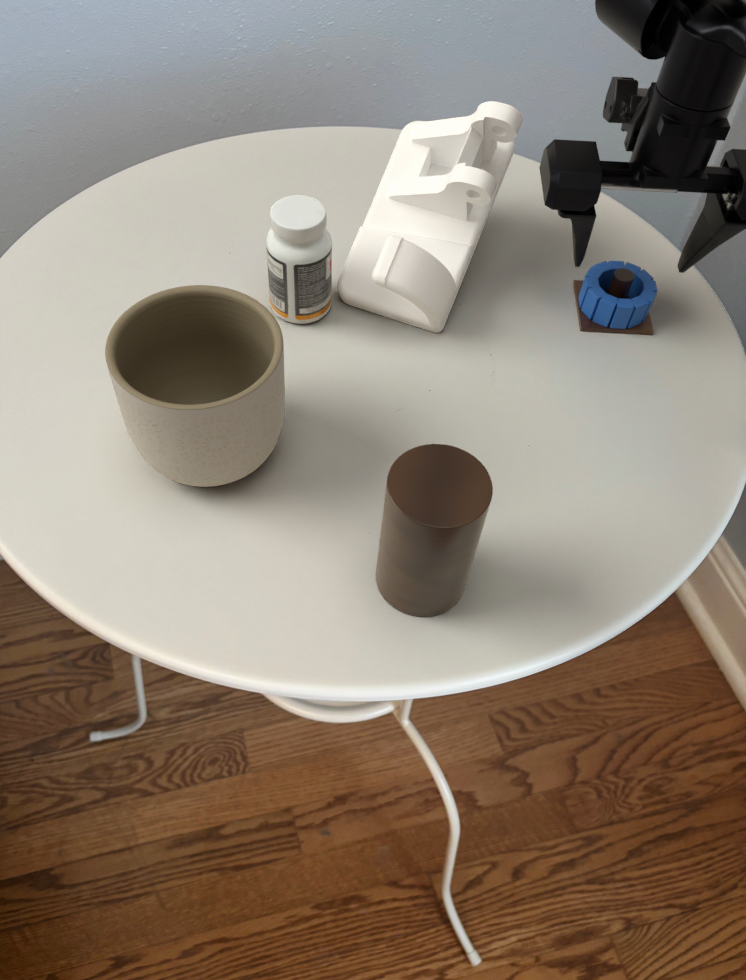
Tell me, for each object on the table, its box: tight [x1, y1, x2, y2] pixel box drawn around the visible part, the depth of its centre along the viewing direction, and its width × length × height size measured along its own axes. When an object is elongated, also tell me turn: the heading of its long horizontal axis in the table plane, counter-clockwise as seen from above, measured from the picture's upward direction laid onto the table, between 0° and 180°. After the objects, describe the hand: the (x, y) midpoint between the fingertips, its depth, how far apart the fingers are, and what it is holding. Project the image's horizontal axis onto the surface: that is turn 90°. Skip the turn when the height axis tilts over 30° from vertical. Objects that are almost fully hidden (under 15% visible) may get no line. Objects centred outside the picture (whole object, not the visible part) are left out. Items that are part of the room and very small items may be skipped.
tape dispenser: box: [336, 100, 524, 334], centre depth 76 cm, size 20×11×13 cm, turn 156°
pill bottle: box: [265, 194, 333, 325], centre depth 73 cm, size 6×6×10 cm
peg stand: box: [572, 268, 655, 336], centre depth 76 cm, size 7×7×4 cm
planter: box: [104, 284, 286, 488], centre depth 63 cm, size 12×12×11 cm
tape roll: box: [578, 260, 658, 329], centre depth 77 cm, size 6×6×2 cm
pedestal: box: [375, 443, 494, 618], centre depth 57 cm, size 7×7×11 cm
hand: (628, 266), depth 74 cm, fingers open, 9 cm apart
